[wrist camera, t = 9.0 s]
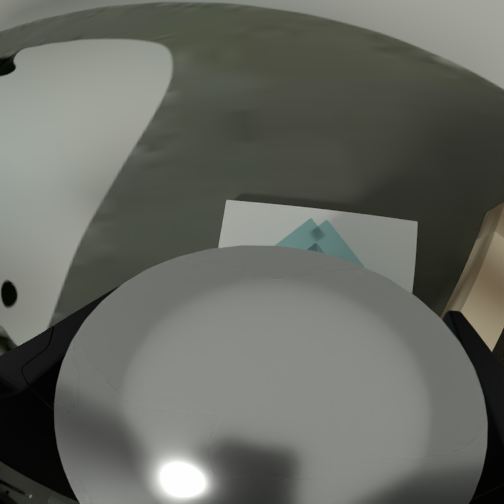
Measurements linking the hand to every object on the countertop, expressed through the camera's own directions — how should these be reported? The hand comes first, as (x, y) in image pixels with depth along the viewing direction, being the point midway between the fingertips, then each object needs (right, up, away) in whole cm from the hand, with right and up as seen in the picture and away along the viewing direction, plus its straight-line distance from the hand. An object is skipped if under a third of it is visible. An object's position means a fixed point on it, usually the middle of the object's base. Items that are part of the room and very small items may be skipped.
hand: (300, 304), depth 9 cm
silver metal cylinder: (+1, -3, +8) cm, 9 cm away
